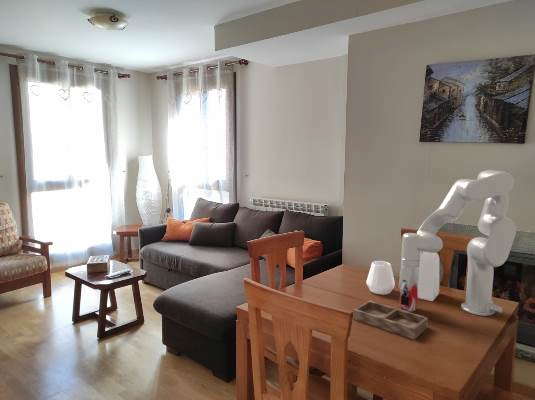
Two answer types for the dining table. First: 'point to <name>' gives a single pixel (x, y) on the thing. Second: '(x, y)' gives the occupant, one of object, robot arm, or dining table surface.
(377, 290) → the white faceted vase
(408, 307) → the soda can
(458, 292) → the dining table surface
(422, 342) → the dining table surface
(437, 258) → the milk
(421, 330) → the caddy
